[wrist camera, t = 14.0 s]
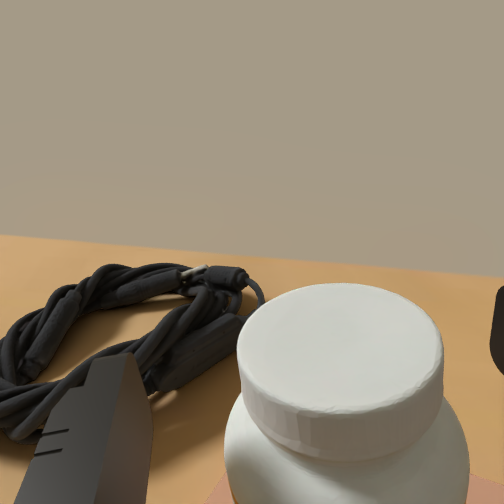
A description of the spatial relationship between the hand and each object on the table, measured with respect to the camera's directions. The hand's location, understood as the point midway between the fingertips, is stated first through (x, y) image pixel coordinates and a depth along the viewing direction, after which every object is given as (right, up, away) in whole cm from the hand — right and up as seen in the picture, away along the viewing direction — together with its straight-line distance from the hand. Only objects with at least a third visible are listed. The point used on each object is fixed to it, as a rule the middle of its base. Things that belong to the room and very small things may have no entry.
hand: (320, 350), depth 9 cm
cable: (-10, -4, +17) cm, 20 cm away
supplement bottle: (+1, -8, +3) cm, 9 cm away
